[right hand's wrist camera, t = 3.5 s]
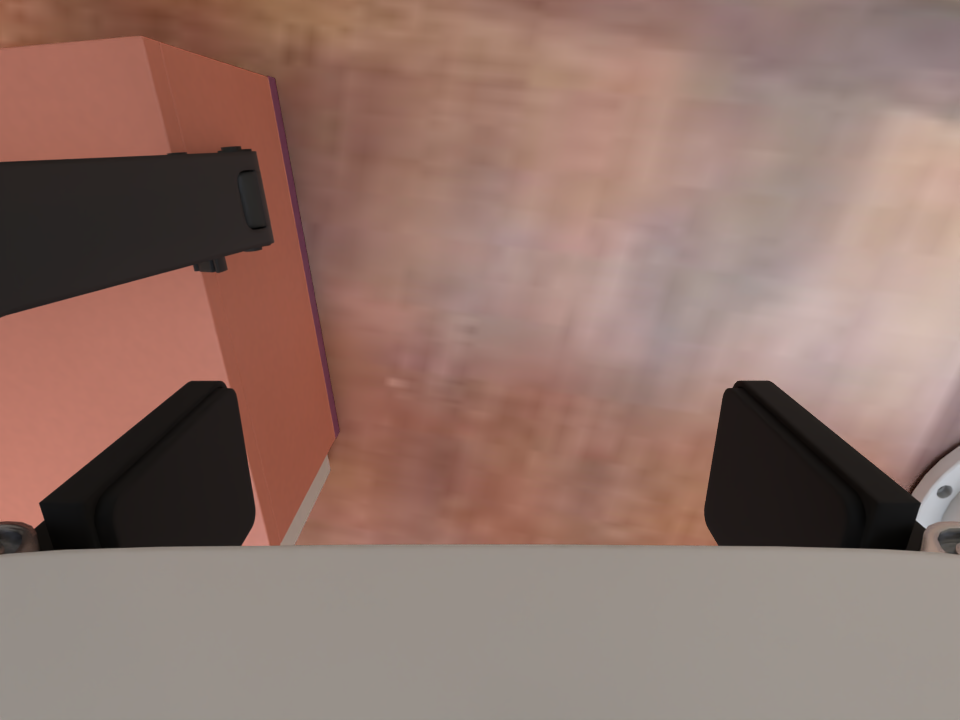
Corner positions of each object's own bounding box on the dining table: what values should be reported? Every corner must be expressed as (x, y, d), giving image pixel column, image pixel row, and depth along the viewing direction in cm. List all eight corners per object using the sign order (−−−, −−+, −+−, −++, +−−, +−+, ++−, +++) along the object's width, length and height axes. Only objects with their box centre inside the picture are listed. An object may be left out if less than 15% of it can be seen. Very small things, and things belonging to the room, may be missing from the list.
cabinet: (339, 431, 33) (273, 559, 23) (165, 443, 34) (23, 574, 23) (274, 78, 27) (141, 34, 16) (59, 97, 27) (-204, 65, 17)
